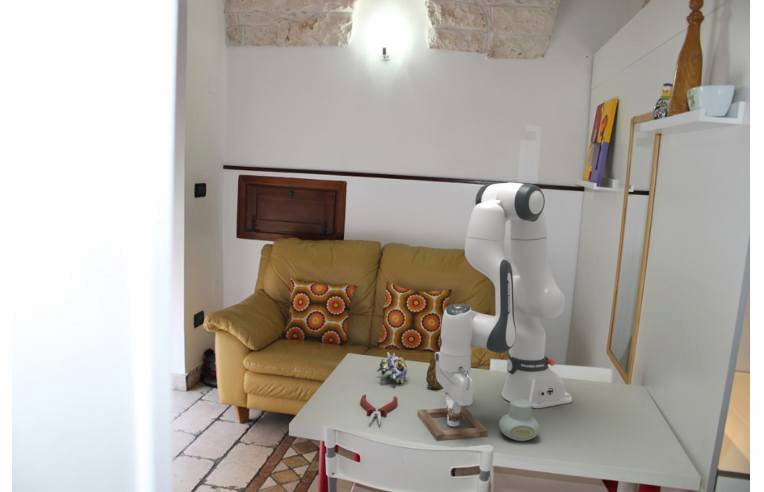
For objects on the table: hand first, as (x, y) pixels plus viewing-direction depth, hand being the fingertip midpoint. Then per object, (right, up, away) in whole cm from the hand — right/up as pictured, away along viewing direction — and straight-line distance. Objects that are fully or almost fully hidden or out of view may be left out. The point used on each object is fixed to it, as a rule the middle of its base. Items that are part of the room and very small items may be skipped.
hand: (452, 408), depth 177 cm
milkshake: (0, -5, 0) cm, 5 cm away
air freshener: (+18, -7, -5) cm, 20 cm away
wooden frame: (0, -5, +1) cm, 5 cm away
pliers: (-23, -4, +8) cm, 25 cm away
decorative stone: (-2, -1, +31) cm, 31 cm away
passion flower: (-17, 0, +35) cm, 39 cm away
